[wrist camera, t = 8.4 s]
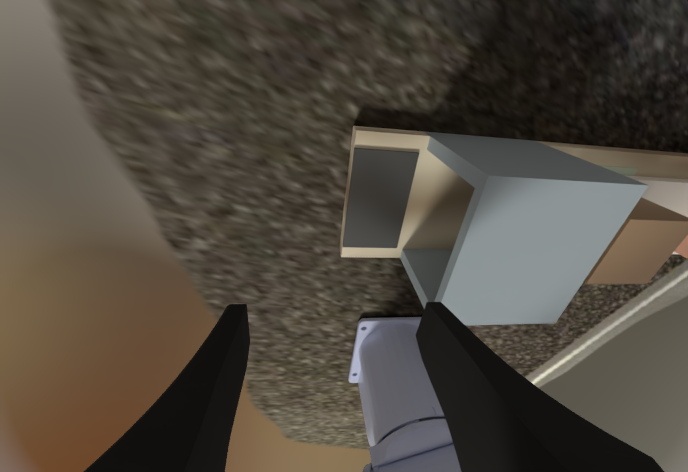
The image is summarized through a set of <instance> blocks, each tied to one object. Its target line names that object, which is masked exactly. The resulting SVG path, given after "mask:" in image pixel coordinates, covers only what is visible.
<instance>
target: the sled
mask: <svg viewBox="0 0 688 472" xmlns="http://www.w3.org/2000/svg"><path fill="white" fill-rule="evenodd" d="M624 176H626V177H629V178H632V179H634V180H637V181H639V182H642V183H644V184H647V185H649V186H648V188H647V189H646V191H645V192H644V194H643V195H642V197H641V198H640V200H639V201H638V203H637V204H636V205H635V207H634V208H633V210H632V211H631V213H630V214H629V216H628V217H627V219H626V220H625V222H624V223H623V225H622V226H621V227H620V229H619V230H618V232H617V233H616V235H615V236H614V238H613V239H612V241H611V242H610V244H609V245H608V246H607V248H606V249H605V251H604V252H603V254H602V255H601V257H600V258H599V260H598V261H597V263H596V264H595V265H594V267H593V268H592V270H591V271H590V273H589V274H588V276H587V277H586V279H585V280H584V283H585V284H647V283H648V282H649V281H650V280H651V278H652V277H653V276H654V275H655V274H656V272H657V271H658V270H659V269H660V268H661V266H662V265H663V264H664V263H665V262H666V260H667V259H668V258H669V257H670V256H671V254H680V255H682V256H684V257H685V258H687V259H688V179H673V178H657V177H642V176H627V175H624Z"/></svg>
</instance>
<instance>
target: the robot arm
mask: <svg viewBox="0 0 688 472" xmlns="http://www.w3.org/2000/svg"><path fill="white" fill-rule="evenodd" d="M249 345H250V335H249V325H248V314H247V304H230V305H228V306H227V307H226V309H225V311H224V313H223V314H222V316H221V317H220V319H219V321H218V322H217V324H216V325H215V327H214V328H213V330H212V331H211V333H210V334H209V336H208V337H207V339H206V340H205V341H204V343H203V344H202V346H201V347H200V348H199V350H198V351H197V353H196V354H195V355H194V357H193V358H192V359H191V360H190V362H189V363H188V364H187V365H186V367H185V368H184V369H183V370H182V372H181V373H180V374H179V375H178V377H177V378H176V379H175V380H174V382H173V383H172V384H171V385H170V386H169V387H168V389H167V390H166V391H165V392H164V393H163V394H162V395H161V396H160V397H159V399H158V400H157V401H156V402H155V403H154V404H153V405H152V406H151V407H150V408H149V410H147V411H146V413H145V414H144V415H143V416H142V417H141V418H140V419H139V420H138V421H137V422H136V423H135V424H134V425H133V426H132V427H131V428H130V429H129V430H128V431H127V432H126V433H125V434H124V435H123V436H122V437H121V438H120V439H119V440H118V441H117V442H116V443H114V444H113V445H112V446H111V447H110V448H109V449H108V450H107V451H106V452H105V453H104V454H103V455H101V456H100V457H99V458H98V459H97V460H96V461H95V462H94V463H93V464H92V465H90V466H89V467H88V468H87V469H86V470H85V471H84V472H225V466H226V458H227V452H228V446H229V440H230V435H231V431H232V426H233V422H234V417H235V414H236V410H237V405H238V401H239V397H240V392H241V389H242V385H243V380H244V376H245V372H246V367H247V360H248V353H249ZM348 379H349V382H350V383H358V384H359V390H360V396H361V402H362V408H363V414H364V420H365V426H366V431H367V437H368V441H369V444H370V446H371V447H370V448H369V451H370V457H371V463H370V464H367V465H366V466H365V467H364V469H363V472H664V471H663V470H662V468H661V467H660V466H659V465H658V464H657V463H656V462H655V460H654V459H653V458H652V457H650V456H648V455H646V454H644V453H642V452H641V451H639V450H637V449H635V448H634V447H632V446H630V445H628V444H626V443H624V442H623V441H621V440H619V439H617V438H615V437H614V436H612V435H610V434H608V433H607V432H605V431H603V430H602V429H600V428H598V427H596V426H595V425H593V424H592V423H590V422H588V421H587V420H585V419H583V418H582V417H580V416H579V415H577V414H575V413H574V412H572V411H571V410H569V409H568V408H566V407H565V406H563V405H562V404H560V403H559V402H557V401H556V400H554V399H553V398H551V397H550V396H548V395H547V394H546V393H544V392H543V391H541V390H540V389H539V388H537V387H536V386H535V385H533V384H532V383H531V382H530V381H528V380H527V379H526V378H524V377H523V376H522V375H520V374H519V373H518V372H517V371H515V370H514V369H513V368H512V367H510V366H509V365H508V364H507V363H506V362H504V361H503V360H502V359H501V358H500V357H499V356H497V355H496V354H495V353H494V352H493V351H492V350H491V349H490V348H488V347H487V346H486V345H485V344H484V343H483V342H482V341H481V340H480V339H479V338H478V337H477V336H475V335H474V334H473V333H472V332H471V331H470V330H469V329H468V328H467V327H466V326H465V325H464V324H463V323H462V322H461V321H460V320H459V319H458V318H457V317H456V316H455V315H454V314H453V313H452V312H451V311H450V310H449V309H448V308H447V307H446V306H445V305H444V304H442V303H441V302H427V303H426V306H425V309H424V312H423V315H422V317H394V318H362V319H360V320H359V322H358V328H357V333H356V339H355V344H354V350H353V355H352V361H351V366H350V371H349V377H348Z"/></svg>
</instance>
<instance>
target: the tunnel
mask: <svg viewBox="0 0 688 472" xmlns="http://www.w3.org/2000/svg"><path fill="white" fill-rule="evenodd" d="M425 133H426V134H428V135H429V136H430V139H429V143H428V147H427V150H428V151H429V152H431V153H432V154H433V155H434V156H435V157H437V158H438V159H439V160H440V161H442V162H443V163H444V164H445V165H447V166H448V167H449V168H450V169H452V170H453V171H454V172H455V173H457V174H458V175H459V176H460V177H462V178H463V179H464V180H465V181H467V182H468V183H469V184H470V185H472V186H473V187H474V188H475V189H474V192H473V195H472V198H471V200H470V203H469V206H468V209H467V212H466V214H465V217H464V220H463V223H462V226H461V228H460V231H459V234H458V237H457V240H456V242H455V245H454V248H453V250H429V249H402V252H401V256H400V259H401V261H402V263H403V265H404V267H405V270H406V272H407V274H408V276H409V278H410V280H411V282H412V284H413V286H414V289H415V291H416V293H417V295H418V297H419V299H420V301H421V303H422V306H423V308H424V309H425V306H426V303H427V302H441V303H442V304H444V305H445V306H446V307H447V308H448V309H449V310H450V311H451V312H452V313H453V314H454V315H455V316H456V317H457V318H458V319H459V320H460V321H461V322H462V323H463V324H464V325H500V324H539V323H556V321H557V320H558V318H559V317H560V315H561V314H562V312H563V311H564V309H565V308H566V306H567V305H568V304H569V302H570V301H571V299H572V298H573V296H574V295H575V293H576V292H577V290H578V289H579V287H580V286H581V285H582V283H583V282H584V280H585V279H586V277H587V276H588V274H589V273H590V271H591V270H592V268H593V267H594V265H595V264H596V263H597V261H598V260H599V258H600V257H601V255H602V254H603V252H604V251H605V249H606V248H607V246H608V245H609V244H610V242H611V241H612V239H613V238H614V236H615V235H616V233H617V232H618V230H619V229H620V227H621V226H622V225H623V223H624V222H625V220H626V219H627V217H628V216H629V214H630V213H631V211H632V210H633V208H634V207H635V205H636V204H637V203H638V201H639V200H640V198H641V197H642V195H643V194H644V192H645V191H646V189H647V188H648V186H649V185H647V184H644V183H642V182H639V181H637V180H634V179H632V178H629V177H626V176H624V175H621V174H619V173H616V172H614V171H611V170H609V169H606V168H603V167H601V166H598V165H596V164H593V163H591V162H588V161H586V160H583V159H580V158H578V157H575V156H573V155H570V154H568V153H565V152H563V151H560V150H557V149H555V148H552V147H550V146H547V145H545V144H542V143H540V142H537V141H532V140H520V139H508V138H496V137H483V136H471V135H459V134H447V133H435V132H425Z"/></svg>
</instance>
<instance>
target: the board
mask: <svg viewBox="0 0 688 472" xmlns="http://www.w3.org/2000/svg"><path fill="white" fill-rule="evenodd" d="M429 139H430V136H429V135H428V134H426V133H425V132H423V131H411V130H399V129H387V128H375V127H363V126H353V133H352V142H351V151H350V160H349V168H348V177H347V186H346V195H345V204H344V212H343V221H342V230H341V239H340V253H341V257H380V258H400V256H401V252H402V249H429V250H453V248H454V245H455V242H456V240H457V237H458V234H459V231H460V228H461V226H462V223H463V220H464V217H465V214H466V212H467V209H468V206H469V203H470V200H471V198H472V195H473V192H474V189H475V188H474V187H473V186H472V185H470V184H469V183H468V182H467V181H465V180H464V179H463V178H462V177H460V176H459V175H458V174H457V173H455V172H454V171H453V170H452V169H450V168H449V167H448V166H447V165H445V164H444V163H443V162H442V161H440V160H439V159H438V158H437V157H435V156H434V155H433V154H432V153H431V152H429V151H428V150H427V147H428V143H429ZM537 142H540V143H542V144H545V145H547V146H550V147H552V148H555V149H557V150H560V151H563V152H565V153H568V154H570V155H573V156H575V157H578V158H580V159H583V160H586V161H588V162H591V163H593V164H596V165H598V166H601V167H603V168H606V169H609V170H611V171H614V172H616V173H619V174H621V175H627V176H642V177H657V178H673V179H688V153H677V152H665V151H652V150H640V149H628V148H616V147H604V146H592V145H580V144H568V143H556V142H544V141H537Z"/></svg>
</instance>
